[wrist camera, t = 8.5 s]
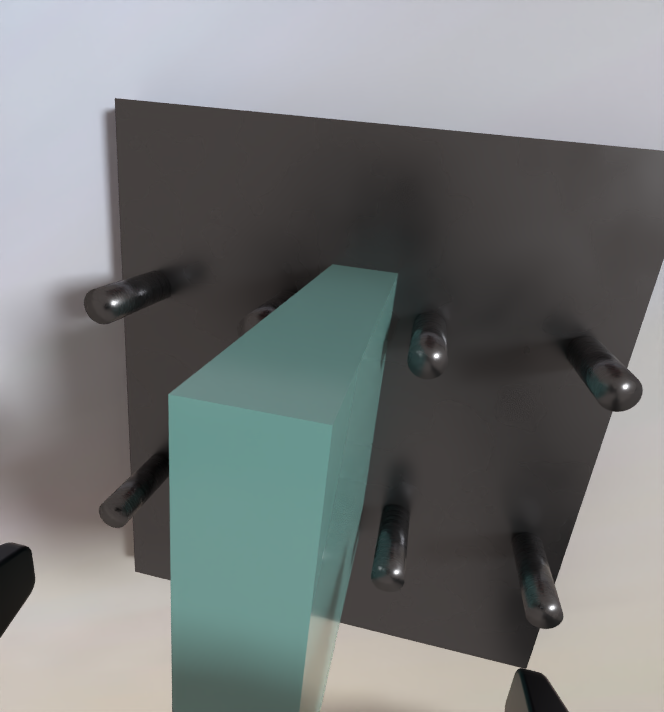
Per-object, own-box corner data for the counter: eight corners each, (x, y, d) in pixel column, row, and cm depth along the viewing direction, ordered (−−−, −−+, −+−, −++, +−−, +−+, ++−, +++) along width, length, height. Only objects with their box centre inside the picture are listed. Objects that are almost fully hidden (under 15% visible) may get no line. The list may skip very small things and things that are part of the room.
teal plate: (357, 542, 18) (276, 909, 9) (304, 530, 19) (174, 874, 9) (397, 273, 15) (332, 425, 6) (332, 264, 15) (168, 393, 6)
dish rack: (522, 645, 20) (541, 754, 16) (147, 555, 22) (89, 630, 18) (680, 156, 13) (773, 146, 10) (133, 103, 16) (40, 79, 12)
